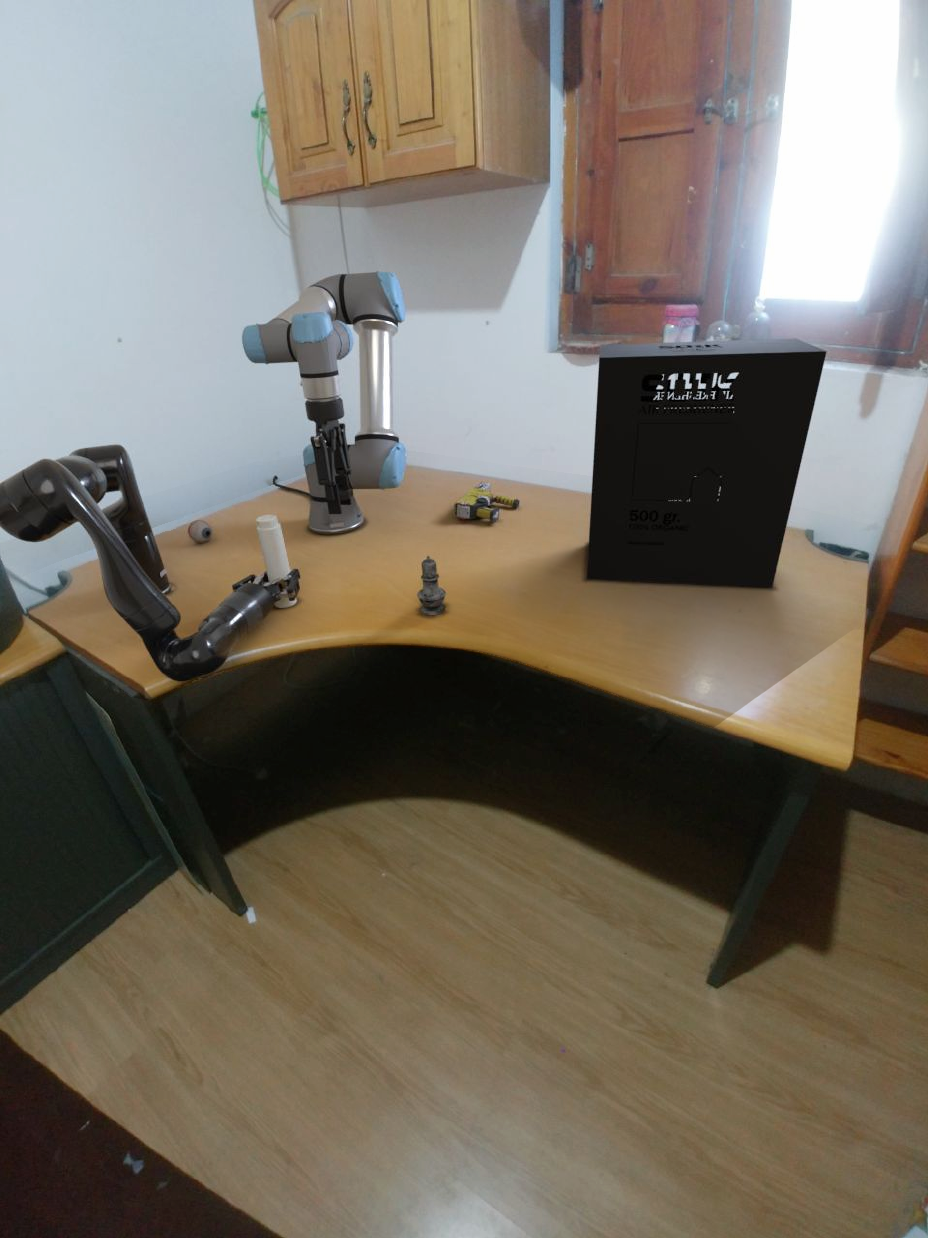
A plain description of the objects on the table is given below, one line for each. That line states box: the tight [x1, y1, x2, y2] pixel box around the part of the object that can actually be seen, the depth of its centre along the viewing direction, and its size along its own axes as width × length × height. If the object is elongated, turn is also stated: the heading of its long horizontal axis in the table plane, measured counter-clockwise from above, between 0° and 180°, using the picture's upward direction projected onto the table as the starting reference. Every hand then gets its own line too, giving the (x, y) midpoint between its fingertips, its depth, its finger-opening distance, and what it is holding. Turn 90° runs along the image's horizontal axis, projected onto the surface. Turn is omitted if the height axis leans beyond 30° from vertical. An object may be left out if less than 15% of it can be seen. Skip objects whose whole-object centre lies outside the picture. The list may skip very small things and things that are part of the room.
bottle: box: [255, 514, 298, 609], centre depth 125 cm, size 5×5×19 cm
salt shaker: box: [416, 555, 447, 616], centre depth 121 cm, size 6×6×12 cm
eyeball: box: [187, 519, 213, 544], centre depth 162 cm, size 6×6×6 cm
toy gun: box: [453, 481, 520, 524], centre depth 173 cm, size 5×24×15 cm
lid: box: [325, 486, 352, 501], centre depth 131 cm, size 6×6×2 cm
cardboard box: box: [586, 338, 828, 589], centre depth 126 cm, size 38×20×45 cm, turn 78°
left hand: (285, 571), depth 129 cm, fingers closed on bottle, 4 cm apart
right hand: (340, 508), depth 133 cm, fingers closed on lid, 5 cm apart
